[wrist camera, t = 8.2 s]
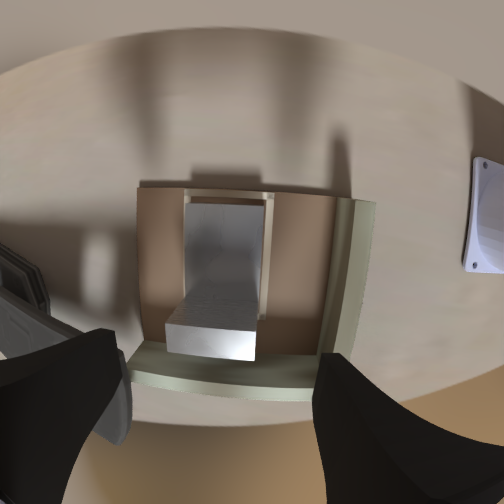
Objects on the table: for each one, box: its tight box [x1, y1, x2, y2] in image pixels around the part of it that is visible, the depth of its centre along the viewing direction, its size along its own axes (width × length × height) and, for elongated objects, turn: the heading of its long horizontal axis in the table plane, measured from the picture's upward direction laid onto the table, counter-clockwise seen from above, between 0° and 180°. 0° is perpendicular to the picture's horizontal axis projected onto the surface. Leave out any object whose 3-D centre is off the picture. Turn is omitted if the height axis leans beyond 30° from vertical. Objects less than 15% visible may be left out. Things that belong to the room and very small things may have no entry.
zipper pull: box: [0, 243, 132, 445], centre depth 16 cm, size 9×7×25 cm
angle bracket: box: [165, 202, 264, 361], centre depth 14 cm, size 6×4×5 cm, turn 177°
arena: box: [126, 187, 376, 401], centre depth 15 cm, size 12×11×4 cm
